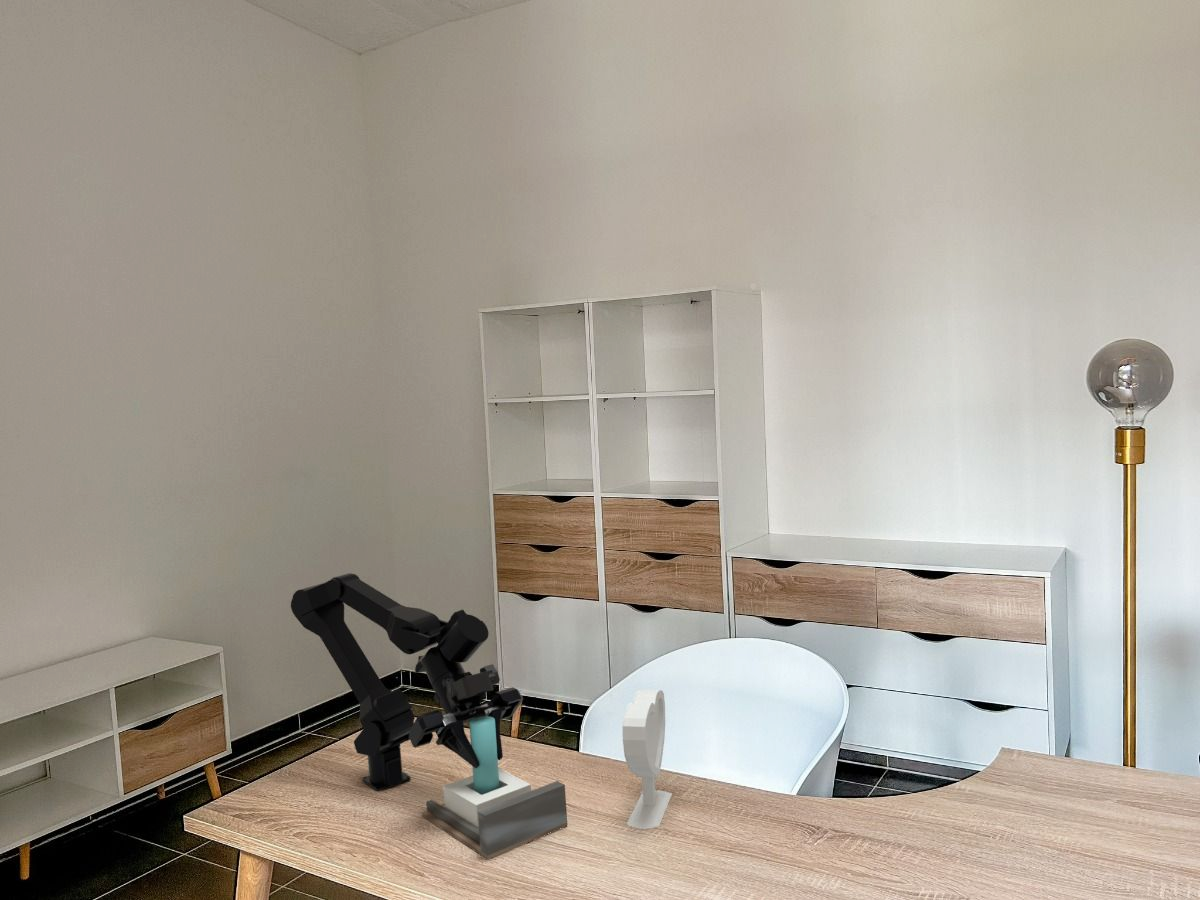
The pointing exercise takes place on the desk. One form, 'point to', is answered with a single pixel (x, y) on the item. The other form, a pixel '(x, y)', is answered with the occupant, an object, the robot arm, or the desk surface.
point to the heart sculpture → (646, 754)
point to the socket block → (469, 802)
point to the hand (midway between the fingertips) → (489, 762)
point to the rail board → (506, 820)
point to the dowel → (484, 754)
